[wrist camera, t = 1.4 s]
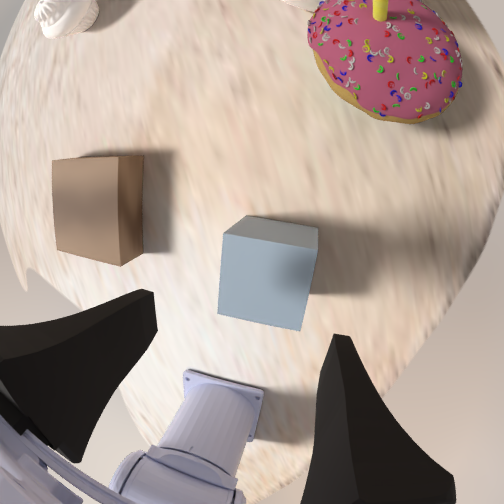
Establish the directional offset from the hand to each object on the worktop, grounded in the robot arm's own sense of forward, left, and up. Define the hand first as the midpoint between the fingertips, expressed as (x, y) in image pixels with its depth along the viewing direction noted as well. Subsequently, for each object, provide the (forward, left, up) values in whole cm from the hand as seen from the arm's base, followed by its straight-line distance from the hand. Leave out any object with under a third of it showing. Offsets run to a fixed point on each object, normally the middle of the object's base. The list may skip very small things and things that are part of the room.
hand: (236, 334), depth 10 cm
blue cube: (0, 0, -10) cm, 10 cm away
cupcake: (+14, -5, -10) cm, 18 cm away
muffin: (+21, +21, -10) cm, 31 cm away
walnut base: (+2, +15, -11) cm, 18 cm away
